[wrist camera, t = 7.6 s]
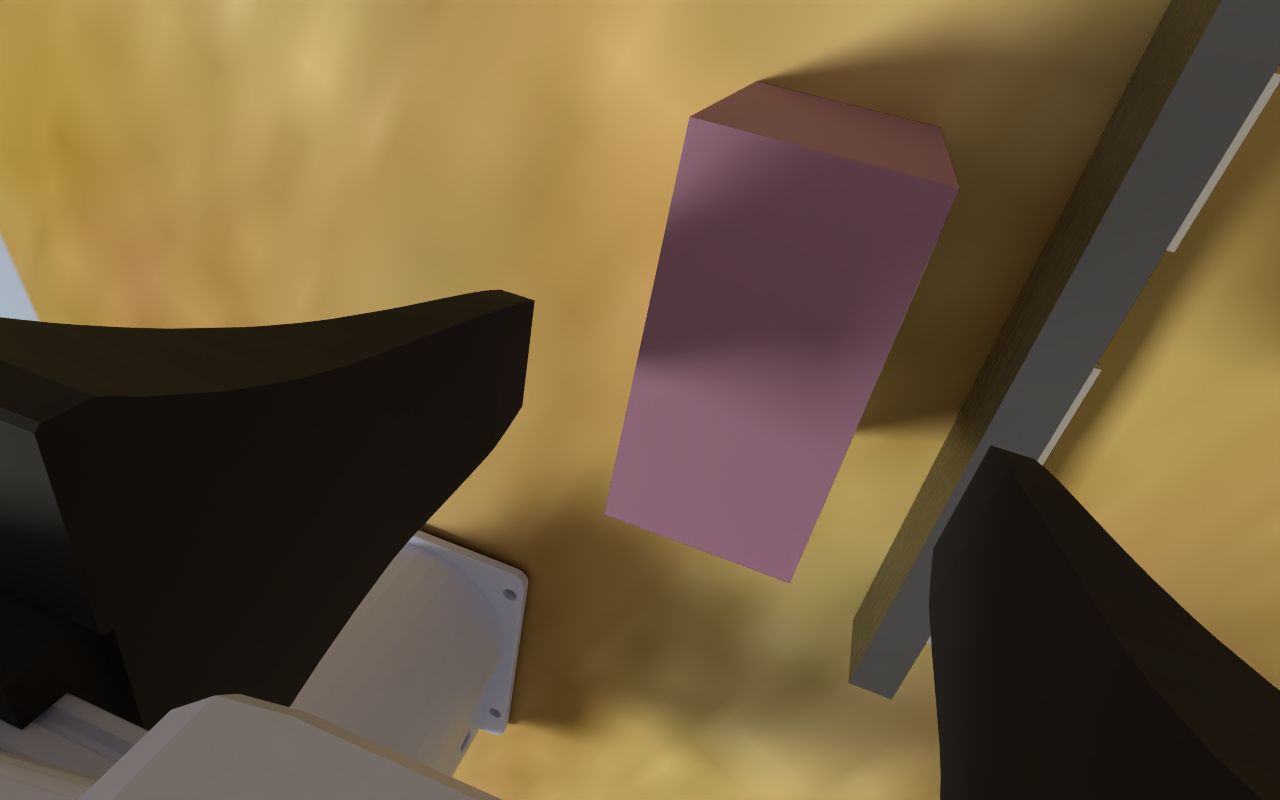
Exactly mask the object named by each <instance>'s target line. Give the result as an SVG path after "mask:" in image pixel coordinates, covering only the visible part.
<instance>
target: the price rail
mask: <svg viewBox="0 0 1280 800" xmlns="http://www.w3.org/2000/svg"><path fill="white" fill-rule="evenodd" d="M1279 65H1280V0H1172V1H1171V3H1170V5H1169V7H1168V9H1167V11H1166V13H1165V14H1164V16H1163V18H1162V20H1161V22H1160V24H1159V26H1158V28H1157V30H1156V32H1155V34H1154V36H1153V38H1152V40H1151V42H1150V44H1149V46H1148V48H1147V49H1146V51H1145V53H1144V55H1143V57H1142V59H1141V61H1140V63H1139V65H1138V67H1137V69H1136V71H1135V73H1134V75H1133V77H1132V79H1131V81H1130V83H1129V85H1128V86H1127V88H1126V90H1125V92H1124V94H1123V96H1122V98H1121V100H1120V102H1119V104H1118V106H1117V108H1116V110H1115V112H1114V114H1113V116H1112V118H1111V120H1110V121H1109V123H1108V125H1107V127H1106V129H1105V131H1104V133H1103V135H1102V137H1101V139H1100V141H1099V143H1098V145H1097V147H1096V149H1095V151H1094V153H1093V155H1092V157H1091V158H1090V160H1089V162H1088V164H1087V166H1086V168H1085V170H1084V172H1083V174H1082V176H1081V178H1080V180H1079V182H1078V184H1077V186H1076V188H1075V190H1074V192H1073V194H1072V195H1071V197H1070V199H1069V201H1068V203H1067V205H1066V207H1065V209H1064V211H1063V213H1062V215H1061V217H1060V219H1059V221H1058V223H1057V225H1056V227H1055V229H1054V230H1053V232H1052V234H1051V236H1050V238H1049V240H1048V242H1047V244H1046V246H1045V248H1044V250H1043V252H1042V254H1041V256H1040V258H1039V260H1038V262H1037V264H1036V266H1035V267H1034V269H1033V271H1032V273H1031V275H1030V277H1029V279H1028V281H1027V283H1026V285H1025V287H1024V289H1023V291H1022V293H1021V295H1020V297H1019V299H1018V301H1017V302H1016V304H1015V306H1014V308H1013V310H1012V312H1011V314H1010V316H1009V318H1008V320H1007V322H1006V324H1005V326H1004V328H1003V330H1002V332H1001V334H1000V336H999V338H998V339H997V341H996V343H995V345H994V347H993V349H992V351H991V353H990V355H989V357H988V359H987V361H986V363H985V365H984V367H983V369H982V371H981V373H980V375H979V376H978V378H977V380H976V382H975V384H974V386H973V388H972V390H971V392H970V394H969V396H968V398H967V400H966V402H965V404H964V406H963V408H962V410H961V411H960V413H959V415H958V417H957V419H956V421H955V423H954V425H953V427H952V429H951V431H950V433H949V435H948V437H947V439H946V441H945V443H944V445H943V447H942V448H941V450H940V452H939V454H938V456H937V458H936V460H935V462H934V464H933V466H932V468H931V470H930V472H929V474H928V476H927V478H926V480H925V482H924V483H923V485H922V487H921V489H920V491H919V493H918V495H917V497H916V499H915V501H914V503H913V505H912V507H911V509H910V511H909V513H908V515H907V517H906V519H905V520H904V522H903V524H902V526H901V528H900V530H899V532H898V534H897V536H896V538H895V540H894V542H893V544H892V546H891V548H890V550H889V552H888V554H887V556H886V557H885V559H884V561H883V563H882V565H881V567H880V569H879V571H878V573H877V575H876V577H875V579H874V581H873V583H872V585H871V587H870V589H869V591H868V592H867V594H866V596H865V598H864V600H863V602H862V604H861V606H860V608H859V610H858V612H857V614H856V616H855V618H854V620H853V631H852V644H851V657H850V670H849V683H851V684H853V685H856V686H858V687H861V688H864V689H866V690H869V691H871V692H874V693H877V694H879V695H882V696H884V697H887V698H889V699H892V698H893V696H894V695H895V693H896V691H897V690H898V688H899V687H900V685H901V683H902V682H903V680H904V678H905V677H906V675H907V673H908V672H909V670H910V669H911V667H912V665H913V664H914V662H915V660H916V659H917V657H918V655H919V654H920V652H921V651H922V649H923V647H924V646H925V644H926V643H927V644H929V645H931V632H930V618H929V594H930V578H931V568H932V557H933V548H934V546H935V544H936V543H937V541H938V539H939V537H940V535H941V534H942V532H943V530H944V528H945V526H946V525H947V523H948V521H949V519H950V517H951V516H952V514H953V512H954V510H955V508H956V507H957V505H958V503H959V501H960V499H961V498H962V496H963V494H964V492H965V490H966V489H967V487H968V485H969V483H970V481H971V480H972V478H973V476H974V474H975V472H976V471H977V469H978V467H979V465H980V463H981V462H982V460H983V458H984V456H985V454H986V453H987V451H988V449H989V447H990V445H992V446H995V447H998V448H1001V449H1004V450H1008V451H1011V452H1014V453H1017V454H1020V455H1023V456H1027V457H1030V458H1033V459H1035V460H1036V461H1038V462H1039V463H1040V464H1041V465H1042V466H1043V464H1044V462H1045V461H1046V459H1047V457H1048V456H1049V454H1050V453H1051V451H1052V449H1053V448H1054V446H1055V445H1056V443H1057V441H1058V440H1059V438H1060V436H1061V435H1062V433H1063V432H1064V430H1065V428H1066V427H1067V425H1068V424H1069V422H1070V420H1071V419H1072V417H1073V415H1074V414H1075V412H1076V411H1077V409H1078V407H1079V406H1080V404H1081V402H1082V401H1083V399H1084V398H1085V396H1086V394H1087V393H1088V391H1089V390H1090V388H1091V386H1092V385H1093V383H1094V381H1095V380H1096V378H1097V377H1098V375H1099V373H1100V372H1101V368H1100V366H1099V365H1098V363H1097V362H1098V361H1099V359H1100V358H1101V356H1102V354H1103V353H1104V351H1105V349H1106V348H1107V346H1108V344H1109V343H1110V341H1111V340H1112V338H1113V336H1114V335H1115V333H1116V331H1117V330H1118V328H1119V326H1120V325H1121V323H1122V322H1123V320H1124V318H1125V317H1126V315H1127V313H1128V312H1129V310H1130V308H1131V307H1132V305H1133V304H1134V302H1135V300H1136V299H1137V297H1138V295H1139V294H1140V292H1141V290H1142V289H1143V287H1144V286H1145V284H1146V282H1147V281H1148V279H1149V277H1150V276H1151V274H1152V272H1153V271H1154V269H1155V268H1156V266H1157V264H1158V263H1159V261H1160V259H1161V258H1162V256H1163V254H1164V253H1165V251H1170V252H1175V251H1176V249H1177V247H1178V246H1179V244H1180V242H1181V241H1182V239H1183V238H1184V236H1185V234H1186V233H1187V231H1188V230H1189V228H1190V226H1191V225H1192V223H1193V221H1194V220H1195V218H1196V217H1197V215H1198V213H1199V212H1200V210H1201V209H1202V207H1203V205H1204V204H1205V202H1206V200H1207V199H1208V197H1209V196H1210V194H1211V192H1212V191H1213V189H1214V187H1215V186H1216V184H1217V183H1218V181H1219V179H1220V178H1221V176H1222V175H1223V173H1224V171H1225V170H1226V168H1227V166H1228V165H1229V163H1230V162H1231V160H1232V158H1233V157H1234V155H1235V154H1236V152H1237V150H1238V149H1239V147H1240V145H1241V144H1242V142H1243V141H1244V139H1245V137H1246V136H1247V134H1248V133H1249V131H1250V129H1251V128H1252V126H1253V124H1254V123H1255V121H1256V120H1257V118H1258V116H1259V115H1260V113H1261V112H1262V110H1263V108H1264V107H1265V105H1266V103H1267V102H1268V100H1269V99H1270V97H1271V95H1272V94H1273V92H1274V90H1275V89H1276V87H1277V86H1278V84H1279V82H1280V74H1276V73H1275V71H1276V70H1277V68H1278V66H1279Z"/></svg>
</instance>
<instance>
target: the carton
mask: <svg viewBox="0 0 1280 800" xmlns="http://www.w3.org/2000/svg"><path fill="white" fill-rule="evenodd" d="M959 189H960V187H959V184H958V181H957V178H956V175H955V172H954V169H953V166H952V162H951V159H950V156H949V153H948V150H947V147H946V144H945V141H944V138H943V134H942V131H941V128H940V127H937V126H933V125H929V124H925V123H921V122H917V121H913V120H909V119H905V118H901V117H897V116H893V115H889V114H885V113H881V112H877V111H873V110H869V109H865V108H861V107H857V106H853V105H849V104H845V103H841V102H837V101H833V100H829V99H825V98H821V97H817V96H813V95H809V94H805V93H801V92H797V91H793V90H789V89H785V88H781V87H777V86H773V85H769V84H765V83H761V82H758V81H756V82H754V83H752V84H750V85H749V86H747V87H745V88H743V89H741V90H739V91H737V92H735V93H733V94H732V95H730V96H728V97H726V98H724V99H722V100H720V101H718V102H716V103H715V104H713V105H711V106H709V107H707V108H705V109H703V110H701V111H699V112H698V113H696V114H694V115H692V116H690V118H689V122H688V127H687V131H686V136H685V141H684V145H683V150H682V155H681V159H680V164H679V169H678V173H677V178H676V183H675V187H674V192H673V197H672V201H671V206H670V211H669V215H668V220H667V225H666V229H665V234H664V239H663V243H662V248H661V252H660V257H659V262H658V266H657V271H656V276H655V280H654V285H653V290H652V294H651V299H650V304H649V308H648V313H647V318H646V322H645V327H644V332H643V336H642V341H641V346H640V350H639V355H638V359H637V364H636V369H635V373H634V378H633V383H632V387H631V392H630V397H629V401H628V406H627V411H626V415H625V420H624V425H623V429H622V434H621V439H620V443H619V448H618V453H617V457H616V462H615V467H614V471H613V476H612V480H611V485H610V490H609V494H608V499H607V504H606V508H605V513H604V515H607V516H610V517H612V518H615V519H618V520H621V521H623V522H626V523H629V524H631V525H634V526H637V527H639V528H642V529H645V530H648V531H650V532H653V533H656V534H658V535H661V536H664V537H666V538H669V539H672V540H674V541H677V542H680V543H683V544H685V545H688V546H691V547H693V548H696V549H699V550H701V551H704V552H707V553H710V554H712V555H715V556H718V557H720V558H723V559H726V560H728V561H731V562H734V563H736V564H739V565H742V566H745V567H747V568H750V569H753V570H755V571H758V572H761V573H763V574H766V575H769V576H771V577H774V578H777V579H780V580H782V581H785V582H788V583H790V581H791V579H792V577H793V574H794V572H795V570H796V567H797V565H798V563H799V560H800V558H801V556H802V553H803V551H804V549H805V546H806V544H807V542H808V540H809V537H810V535H811V533H812V530H813V528H814V526H815V523H816V521H817V519H818V517H819V515H820V512H821V510H822V508H823V505H824V503H825V501H826V499H827V496H828V494H829V492H830V489H831V487H832V485H833V482H834V480H835V478H836V475H837V473H838V471H839V468H840V466H841V464H842V461H843V459H844V457H845V454H846V452H847V450H848V447H849V445H850V443H851V441H852V438H853V436H854V434H855V431H856V429H857V427H858V424H859V422H860V420H861V417H862V415H863V413H864V410H865V408H866V406H867V403H868V401H869V399H870V396H871V394H872V392H873V389H874V387H875V385H876V382H877V380H878V378H879V376H880V373H881V371H882V369H883V366H884V364H885V362H886V359H887V357H888V355H889V352H890V350H891V348H892V345H893V343H894V341H895V338H896V336H897V334H898V331H899V329H900V327H901V324H902V322H903V320H904V317H905V315H906V313H907V311H908V308H909V306H910V304H911V301H912V299H913V297H914V294H915V292H916V290H917V287H918V285H919V283H920V280H921V278H922V276H923V273H924V271H925V269H926V266H927V264H928V262H929V259H930V257H931V255H932V253H933V250H934V248H935V246H936V243H937V241H938V238H939V235H940V233H941V231H942V228H943V226H944V224H945V221H946V219H947V217H948V214H949V212H950V210H951V207H952V205H953V203H954V200H955V198H956V196H957V193H958V191H959Z"/></svg>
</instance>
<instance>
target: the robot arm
mask: <svg viewBox="0 0 1280 800" xmlns="http://www.w3.org/2000/svg"><path fill="white" fill-rule="evenodd" d="M534 301H535V300H531V299H528V298H525V297H522V296H519V295H516V294H512V293H509V292H506V291H503V290H488V291H480V292H474V293H468V294H463V295H458V296H453V297H448V298H443V299H438V300H433V301H428V302H423V303H418V304H414V305H409V306H404V307H399V308H394V309H388V310H382V311H376V312H370V313H365V314H359V315H353V316H347V317H341V318H335V319H328V320H320V321H312V322H303V323H294V324H282V325H270V326H257V327H232V328H184V329H158V328H124V327H106V326H88V325H72V324H60V323H47V322H38V321H28V320H19V319H9V318H1V317H0V800H502V799H499V798H497V797H495V796H493V795H490V794H488V793H486V792H484V791H482V790H479V789H477V788H475V787H473V786H470V785H468V784H466V783H464V782H462V781H459V780H457V779H455V778H453V777H452V776H453V774H454V772H455V770H456V769H457V767H458V765H459V763H460V762H461V760H462V758H463V757H464V755H465V753H466V751H467V750H468V748H469V746H470V744H471V743H472V741H473V739H474V738H475V736H476V734H477V732H478V731H479V729H482V730H485V731H487V732H489V733H491V734H494V735H501V734H503V733H504V731H505V730H506V728H507V726H508V721H509V714H510V707H511V700H512V693H513V686H514V679H515V672H516V665H517V658H518V651H519V644H520V637H521V630H522V623H523V617H524V610H525V603H526V596H527V589H528V579H527V577H526V575H525V574H524V573H523V572H522V571H521V570H519V569H517V568H514V567H512V566H509V565H507V564H504V563H502V562H499V561H496V560H494V559H491V558H489V557H486V556H484V555H481V554H478V553H476V552H473V551H471V550H468V549H466V548H463V547H460V546H458V545H455V544H453V543H450V542H448V541H445V540H443V539H440V538H437V537H435V536H432V535H430V534H427V533H425V532H422V531H419V529H420V528H421V527H422V526H423V525H424V524H425V523H426V522H427V521H428V520H429V518H430V517H431V516H432V515H433V514H434V513H435V512H436V511H437V510H438V509H439V508H440V507H441V506H442V505H443V504H444V502H445V501H446V500H447V499H448V498H449V497H450V496H451V495H452V494H453V493H454V492H455V491H456V490H457V489H458V487H459V486H460V485H461V484H462V483H463V482H464V481H465V480H466V479H467V478H468V477H469V476H470V474H471V473H472V472H473V471H474V470H475V469H476V468H477V467H478V466H479V465H480V464H481V462H482V461H483V460H484V459H485V458H486V457H487V456H488V455H489V454H490V452H491V451H492V450H493V449H494V448H495V446H496V445H497V443H498V442H499V440H500V439H501V438H502V436H503V435H504V433H505V432H506V430H507V429H508V427H509V426H510V424H511V423H512V421H513V420H514V418H515V417H516V415H517V414H518V412H519V410H520V409H521V407H522V404H523V395H524V387H525V378H526V370H527V361H528V353H529V344H530V336H531V327H532V318H533V310H534ZM511 590H512V591H511ZM929 618H930V632H931V645H932V658H933V670H934V682H935V694H936V706H937V718H938V730H939V742H940V767H941V788H940V800H1280V690H1278V689H1277V688H1276V687H1274V686H1273V685H1272V684H1271V683H1269V682H1268V681H1267V680H1266V679H1265V678H1263V677H1262V676H1261V675H1260V674H1259V673H1257V672H1256V671H1255V670H1254V669H1253V668H1251V667H1250V666H1249V665H1248V664H1247V663H1245V662H1244V661H1243V660H1242V659H1241V658H1239V657H1238V656H1237V655H1236V654H1235V653H1233V652H1232V651H1231V650H1230V649H1229V648H1227V647H1226V646H1225V645H1224V644H1223V643H1221V642H1220V641H1219V640H1218V639H1217V638H1216V637H1214V636H1213V635H1212V634H1211V633H1210V632H1209V631H1208V630H1207V629H1205V628H1204V627H1203V626H1202V625H1201V624H1200V623H1199V622H1198V621H1196V620H1195V619H1194V618H1193V617H1192V616H1191V615H1190V614H1189V613H1188V612H1187V611H1186V610H1185V609H1184V608H1183V607H1181V606H1180V605H1179V604H1178V603H1177V602H1176V601H1175V600H1174V599H1173V598H1172V597H1171V596H1170V595H1169V594H1168V593H1167V592H1166V591H1165V590H1164V589H1163V588H1162V587H1160V586H1159V585H1158V584H1157V583H1156V582H1155V581H1154V580H1153V579H1152V578H1151V577H1150V576H1149V575H1148V574H1147V573H1146V572H1145V571H1144V570H1143V569H1142V568H1141V567H1140V566H1139V565H1138V564H1137V563H1136V562H1135V561H1134V560H1133V559H1132V558H1131V557H1130V556H1129V555H1128V554H1127V553H1126V552H1125V551H1124V550H1123V548H1122V547H1121V546H1120V545H1119V544H1118V543H1117V542H1116V541H1115V540H1114V539H1113V538H1112V537H1111V536H1110V535H1109V534H1108V533H1107V532H1106V531H1105V530H1104V529H1103V527H1102V526H1101V525H1100V524H1099V523H1098V522H1097V521H1096V520H1095V519H1094V518H1093V517H1092V516H1091V515H1090V514H1089V513H1088V511H1087V510H1086V509H1085V508H1084V507H1083V506H1082V505H1081V504H1080V503H1079V502H1078V501H1077V500H1076V499H1075V498H1074V496H1073V495H1072V494H1071V493H1070V492H1069V491H1068V490H1067V489H1066V488H1065V487H1064V486H1063V485H1062V484H1061V483H1060V482H1059V481H1058V480H1057V479H1056V478H1055V477H1054V476H1053V475H1052V474H1051V473H1050V472H1049V471H1048V470H1047V469H1046V468H1045V467H1044V466H1042V465H1041V464H1040V463H1039V462H1038V461H1036V460H1035V459H1033V458H1030V457H1027V456H1023V455H1020V454H1017V453H1014V452H1011V451H1008V450H1004V449H1001V448H998V447H995V446H992V445H990V447H989V449H988V451H987V453H986V454H985V456H984V458H983V460H982V462H981V463H980V465H979V467H978V469H977V471H976V472H975V474H974V476H973V478H972V480H971V481H970V483H969V485H968V487H967V489H966V490H965V492H964V494H963V496H962V498H961V499H960V501H959V503H958V505H957V507H956V508H955V510H954V512H953V514H952V516H951V517H950V519H949V521H948V523H947V525H946V526H945V528H944V530H943V532H942V534H941V535H940V537H939V539H938V541H937V543H936V544H935V546H934V548H933V557H932V568H931V578H930V594H929Z"/></svg>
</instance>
